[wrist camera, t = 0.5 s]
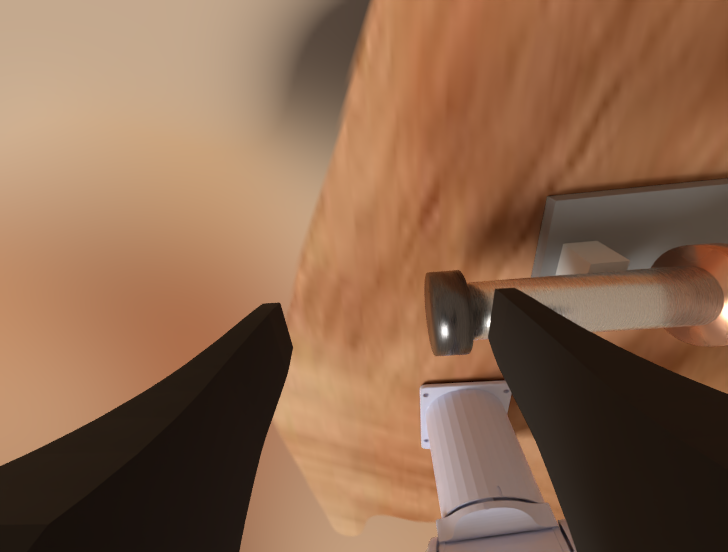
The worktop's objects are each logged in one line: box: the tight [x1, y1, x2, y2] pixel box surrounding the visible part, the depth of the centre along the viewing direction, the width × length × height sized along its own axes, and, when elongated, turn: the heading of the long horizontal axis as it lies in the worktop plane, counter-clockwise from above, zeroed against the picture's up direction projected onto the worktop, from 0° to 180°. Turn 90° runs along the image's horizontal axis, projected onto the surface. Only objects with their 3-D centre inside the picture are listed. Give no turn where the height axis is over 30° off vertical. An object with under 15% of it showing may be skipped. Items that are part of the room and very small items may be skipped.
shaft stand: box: [531, 178, 728, 278], centre depth 16 cm, size 8×17×7 cm, turn 97°
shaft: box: [425, 243, 728, 356], centre depth 15 cm, size 5×16×5 cm, turn 97°
